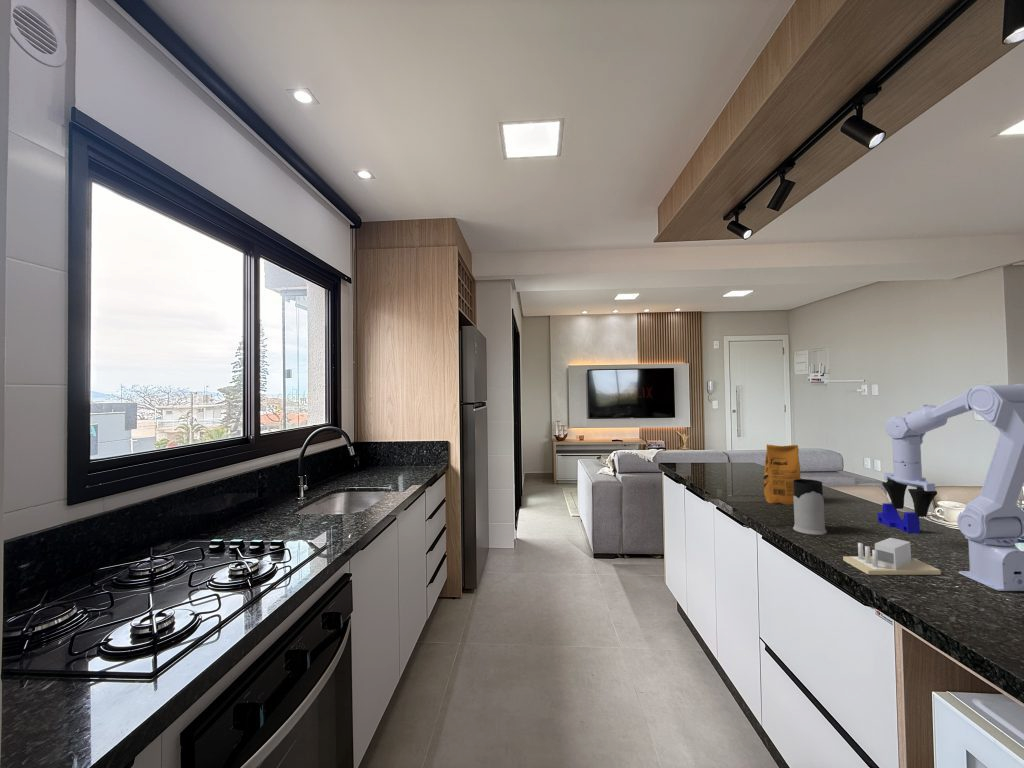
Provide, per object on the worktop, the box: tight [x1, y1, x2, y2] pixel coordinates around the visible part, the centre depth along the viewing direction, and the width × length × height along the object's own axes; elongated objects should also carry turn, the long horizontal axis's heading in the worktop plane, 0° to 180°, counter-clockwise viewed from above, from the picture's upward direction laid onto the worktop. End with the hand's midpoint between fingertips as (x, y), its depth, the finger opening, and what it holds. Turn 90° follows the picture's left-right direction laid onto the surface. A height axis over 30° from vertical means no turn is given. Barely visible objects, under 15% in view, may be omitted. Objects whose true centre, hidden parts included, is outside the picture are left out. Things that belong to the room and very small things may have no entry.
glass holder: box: [792, 478, 828, 536], centre depth 142 cm, size 9×14×15 cm, turn 167°
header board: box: [842, 542, 942, 576], centre depth 110 cm, size 9×16×5 cm, turn 86°
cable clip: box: [877, 502, 921, 534], centre depth 139 cm, size 12×4×6 cm, turn 169°
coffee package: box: [762, 443, 801, 506], centre depth 173 cm, size 10×12×22 cm
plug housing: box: [874, 537, 915, 570], centre depth 111 cm, size 4×14×5 cm, turn 119°
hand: (909, 512), depth 121 cm, fingers open, 7 cm apart
